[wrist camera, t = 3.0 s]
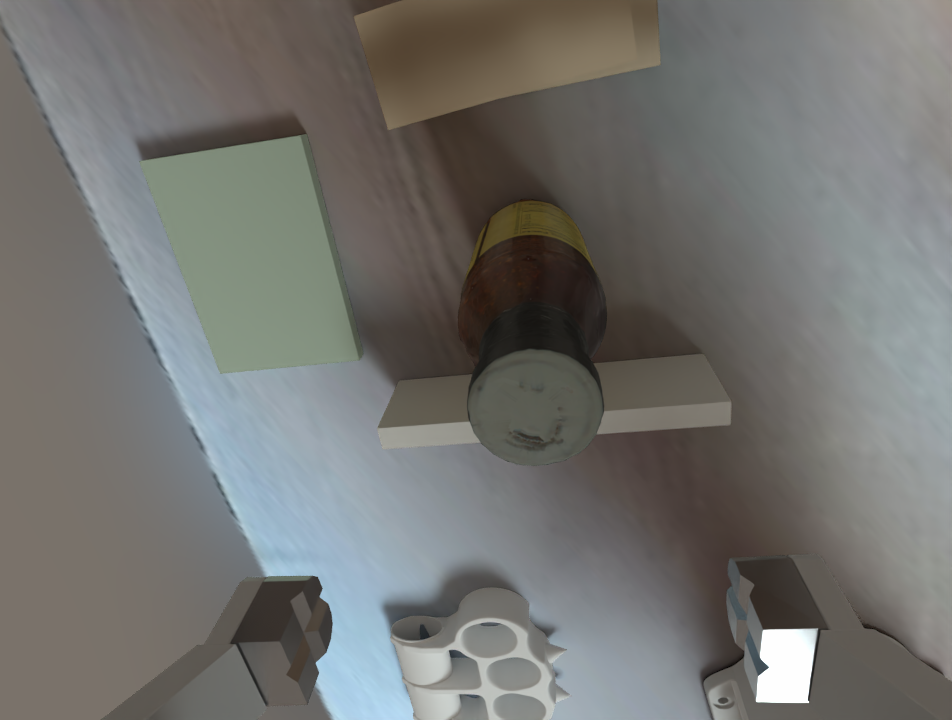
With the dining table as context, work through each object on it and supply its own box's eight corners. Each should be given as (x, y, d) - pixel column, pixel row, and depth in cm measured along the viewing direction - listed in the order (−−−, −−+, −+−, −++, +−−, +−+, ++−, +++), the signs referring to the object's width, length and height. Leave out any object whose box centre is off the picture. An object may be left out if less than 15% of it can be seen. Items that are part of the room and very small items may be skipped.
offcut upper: (629, 60, 28) (637, 59, 26) (399, 126, 31) (388, 130, 28) (613, -60, 26) (620, -73, 24) (368, 20, 29) (353, 16, 26)
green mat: (363, 353, 39) (359, 360, 38) (227, 366, 40) (220, 373, 40) (306, 134, 33) (300, 135, 32) (149, 159, 35) (139, 161, 34)
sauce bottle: (531, 315, 37) (523, 543, 19) (457, 249, 35) (373, 427, 17) (608, 241, 34) (684, 423, 16) (532, 166, 33) (525, 276, 15)
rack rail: (703, 374, 37) (730, 425, 32) (403, 399, 40) (382, 449, 35) (703, 353, 37) (731, 401, 31) (398, 380, 40) (377, 428, 34)
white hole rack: (388, 585, 49) (561, 581, 47) (425, 718, 57) (575, 720, 55) (378, 619, 46) (562, 615, 44) (418, 754, 54) (577, 757, 52)
